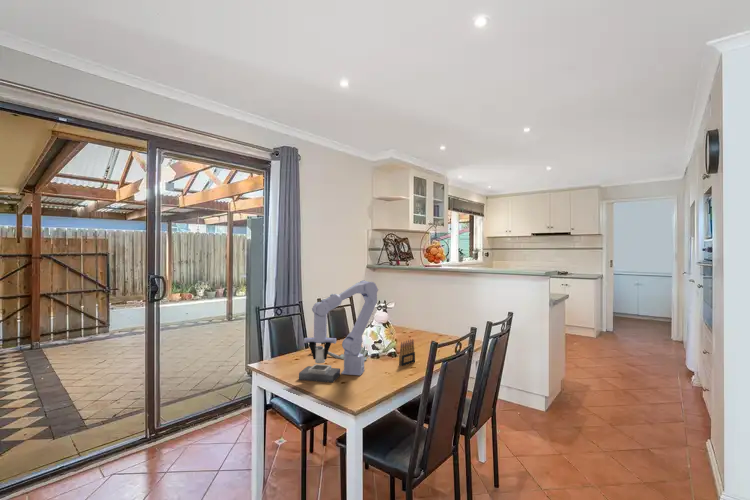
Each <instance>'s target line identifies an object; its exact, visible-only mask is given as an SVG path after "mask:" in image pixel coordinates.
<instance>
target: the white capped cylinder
mask: <svg viewBox="0 0 750 500" xmlns="http://www.w3.org/2000/svg"><path fill="white" fill-rule="evenodd" d="M317 346H318V348H316V349H315V359H314V362H315V364H324V363H326V360H324V354H325V350H324V345H317Z"/></svg>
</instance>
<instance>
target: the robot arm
mask: <svg viewBox="0 0 750 500" xmlns="http://www.w3.org/2000/svg"><path fill="white" fill-rule="evenodd" d="M378 291H379V289H378V286H377V284H376V283H375V282H374V281H367V280H361V281H359V282H356V283H355V284H353V285H352V286H350V287H348V288H346V289H345V290H343V292H340V293H339V294H337V293H331V294H330V295H329V296H328V297H327V298H322V299H321V300H320V301H317V302H316V303H314V304H313V306H312V308H311V311H312V313H313V337H304V339H303V343H304V344H308V347H309V349H310V351H311V352H312V353H311V352H310V353H311V354H312V358H313V360H315V349H316V345H317V344H320V343H321V344H324V345H323V348H324V350H325V354H324V360H325V361H326V360H327V357H328V351H330V347H331V345H332V344H337V338H336V337H335V338H333V337H327V336H328V335H327V329H328V328H327V327H328V326H327V324H328V323H327V317H328V316H327V315H328V314H329V312H330V311H332V310H334V309H336V308H337V307H339V306H340V305H341V304H342V302H343V301H344V300H347V299H348V298H350V297H352V296H354V295H356V294H360V295H361V296H362V297H363V299H364V302H363V303H364V304H363V306H362V308H361V310H360V312H359V315H358V317H357V319H356V321H355V323H354V325H353V327H352V330H351V332H348V334H347V336H346V337H345V338H344V339H343V340H342V341H341V342H342V343H341V347H342V349H343V350H344V351H343V354H344V358H343V370H342V371H341V372H340V375H351V376H362V374H363V373H364V372H365V370H366V369H365V361H364V355H363V354H360V353H359V352H360V351H361V347H362V346H363V345H362V344H363V341H364V340H363V335H364V333H365V330H366V328H367V326H368V324H369V321H370V319H371V317H372V315H373V313H374V310H375V308H376V305H377V302H378Z"/></svg>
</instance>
